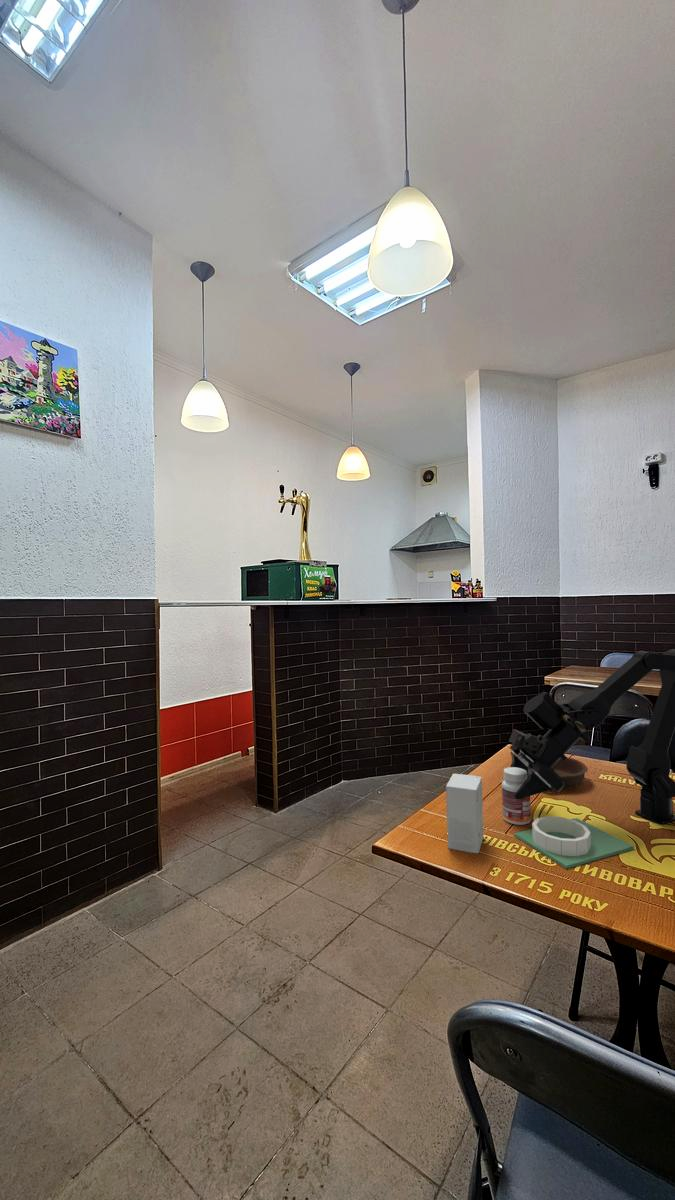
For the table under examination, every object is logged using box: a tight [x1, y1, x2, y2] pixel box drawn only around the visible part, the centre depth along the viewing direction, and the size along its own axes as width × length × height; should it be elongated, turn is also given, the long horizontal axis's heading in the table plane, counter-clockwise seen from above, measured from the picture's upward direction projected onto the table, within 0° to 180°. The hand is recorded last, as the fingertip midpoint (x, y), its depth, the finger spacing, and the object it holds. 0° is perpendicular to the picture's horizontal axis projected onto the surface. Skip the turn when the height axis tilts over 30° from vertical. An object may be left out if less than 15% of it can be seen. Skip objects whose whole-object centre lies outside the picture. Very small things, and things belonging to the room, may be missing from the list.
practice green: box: [513, 815, 635, 870], centre depth 101 cm, size 18×14×4 cm
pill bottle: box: [501, 766, 532, 826], centre depth 112 cm, size 6×6×11 cm
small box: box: [445, 773, 484, 854], centre depth 102 cm, size 8×6×13 cm
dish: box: [527, 756, 589, 791], centre depth 135 cm, size 18×22×5 cm
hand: (509, 791), depth 112 cm, fingers open, 8 cm apart
